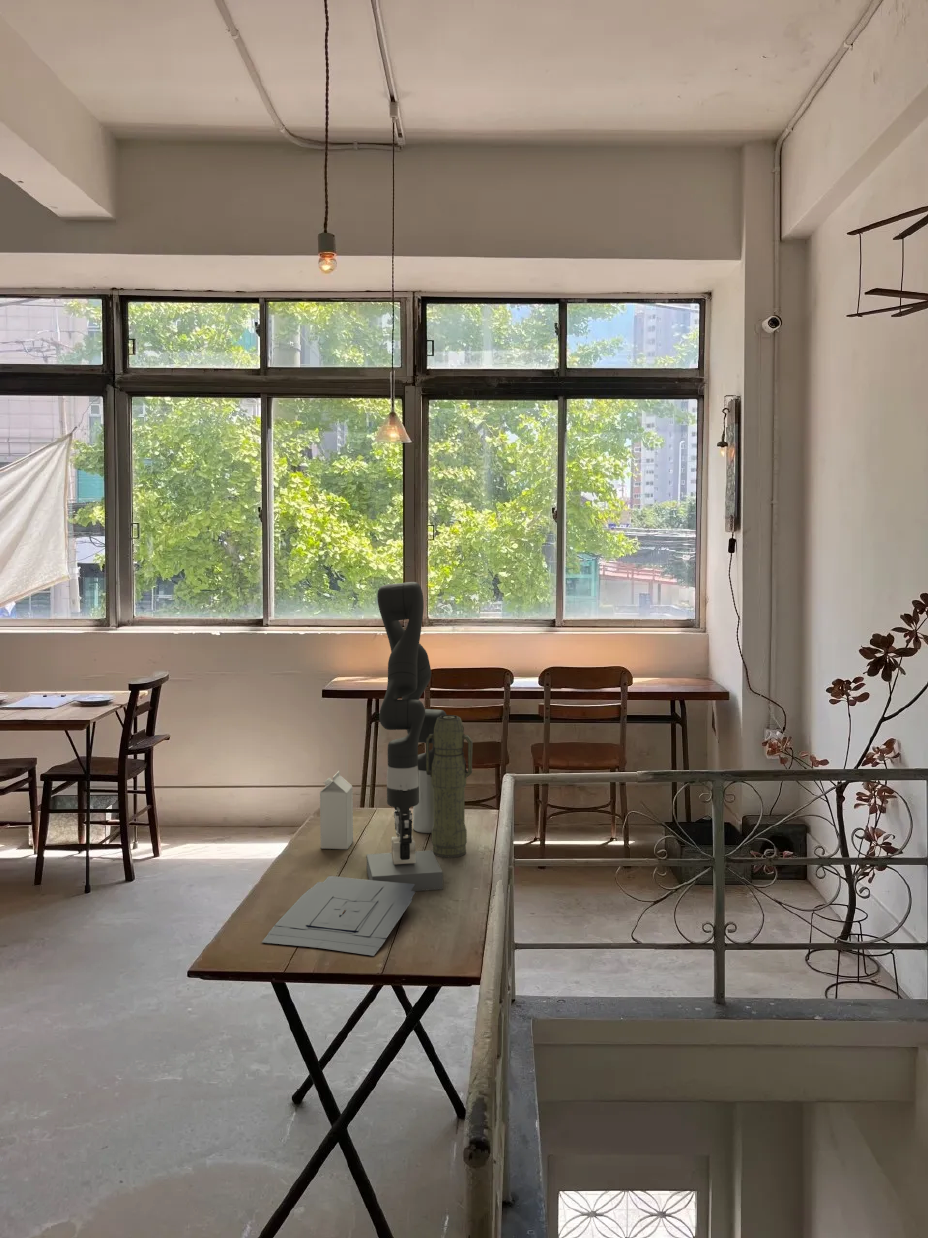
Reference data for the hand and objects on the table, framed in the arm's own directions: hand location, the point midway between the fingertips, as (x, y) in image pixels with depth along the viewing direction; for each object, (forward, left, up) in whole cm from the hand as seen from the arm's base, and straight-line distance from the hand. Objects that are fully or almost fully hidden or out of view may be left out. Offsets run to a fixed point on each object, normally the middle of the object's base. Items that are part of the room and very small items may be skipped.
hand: (403, 855), depth 231 cm
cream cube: (0, 0, -1) cm, 1 cm away
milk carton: (-29, -14, -6) cm, 33 cm away
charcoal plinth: (0, 0, -6) cm, 6 cm away
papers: (+23, -15, -6) cm, 28 cm away
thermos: (-18, +14, -6) cm, 24 cm away
